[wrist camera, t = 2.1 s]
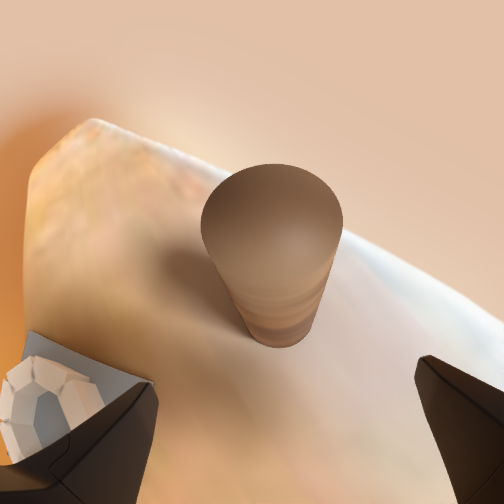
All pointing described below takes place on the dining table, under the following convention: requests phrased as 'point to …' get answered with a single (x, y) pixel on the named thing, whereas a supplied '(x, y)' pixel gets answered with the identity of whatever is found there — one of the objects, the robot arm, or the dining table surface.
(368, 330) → the dining table surface
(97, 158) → the dining table surface
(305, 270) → the walnut peg
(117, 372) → the socket plate
